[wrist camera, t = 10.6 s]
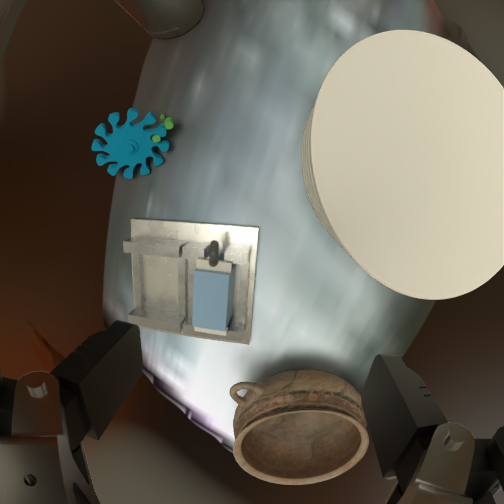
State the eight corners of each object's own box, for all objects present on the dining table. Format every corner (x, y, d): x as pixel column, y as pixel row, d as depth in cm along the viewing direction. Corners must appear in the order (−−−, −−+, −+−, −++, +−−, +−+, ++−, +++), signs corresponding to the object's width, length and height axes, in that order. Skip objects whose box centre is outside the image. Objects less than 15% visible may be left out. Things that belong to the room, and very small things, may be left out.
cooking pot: (387, 400, 41) (407, 451, 29) (303, 452, 45) (304, 502, 33) (290, 309, 38) (293, 360, 27) (201, 381, 43) (179, 435, 31)
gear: (114, 191, 36) (76, 136, 27) (118, 166, 39) (86, 115, 31) (188, 160, 35) (159, 95, 27) (185, 137, 39) (160, 79, 30)
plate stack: (329, 291, 38) (347, 332, 26) (274, 83, 32) (270, 44, 21) (491, 242, 33) (538, 260, 22) (451, 63, 28) (491, 38, 17)
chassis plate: (135, 218, 38) (118, 222, 33) (258, 226, 36) (255, 232, 32) (139, 323, 41) (126, 336, 37) (250, 340, 40) (246, 357, 36)
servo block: (206, 232, 36) (195, 239, 31) (238, 235, 36) (231, 243, 31) (202, 316, 39) (192, 334, 34) (231, 321, 38) (224, 339, 33)
